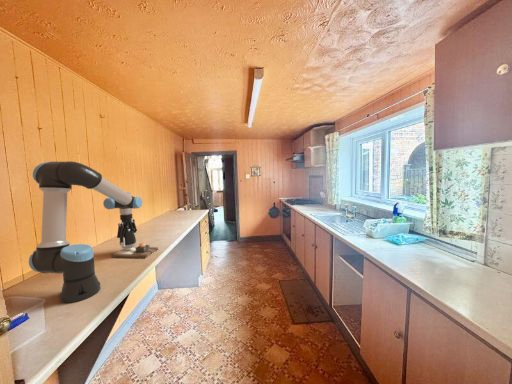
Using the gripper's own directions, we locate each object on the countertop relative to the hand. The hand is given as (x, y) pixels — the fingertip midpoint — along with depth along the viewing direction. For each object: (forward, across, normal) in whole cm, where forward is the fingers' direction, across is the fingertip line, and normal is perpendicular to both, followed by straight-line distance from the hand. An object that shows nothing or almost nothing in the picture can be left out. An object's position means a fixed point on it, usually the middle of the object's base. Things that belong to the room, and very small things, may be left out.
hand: (128, 243), depth 151 cm
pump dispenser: (+3, 0, 0) cm, 3 cm away
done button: (+3, 0, -11) cm, 11 cm away
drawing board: (+7, 0, -6) cm, 9 cm away
